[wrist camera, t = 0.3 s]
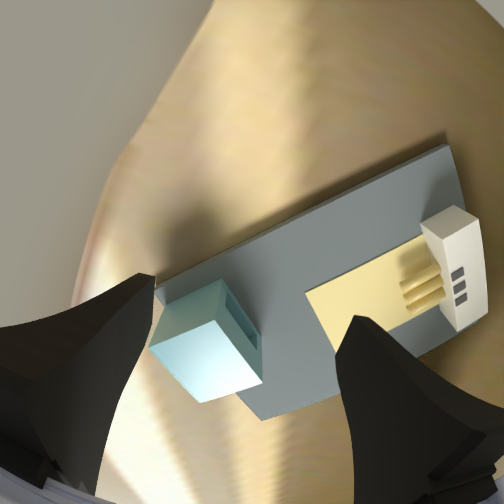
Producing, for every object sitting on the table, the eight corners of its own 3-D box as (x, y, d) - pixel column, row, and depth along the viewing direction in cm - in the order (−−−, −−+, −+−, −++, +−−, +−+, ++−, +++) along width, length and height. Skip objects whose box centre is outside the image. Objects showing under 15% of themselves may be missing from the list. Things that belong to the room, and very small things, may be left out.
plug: (261, 336, 22) (262, 382, 18) (207, 357, 23) (199, 403, 19) (222, 278, 20) (214, 320, 16) (165, 305, 21) (147, 347, 17)
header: (468, 292, 21) (488, 313, 18) (408, 327, 22) (423, 352, 19) (453, 204, 18) (479, 219, 15) (382, 242, 19) (401, 263, 16)
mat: (475, 315, 23) (480, 321, 22) (261, 414, 27) (261, 421, 26) (442, 143, 17) (449, 145, 16) (155, 285, 21) (152, 292, 21)
